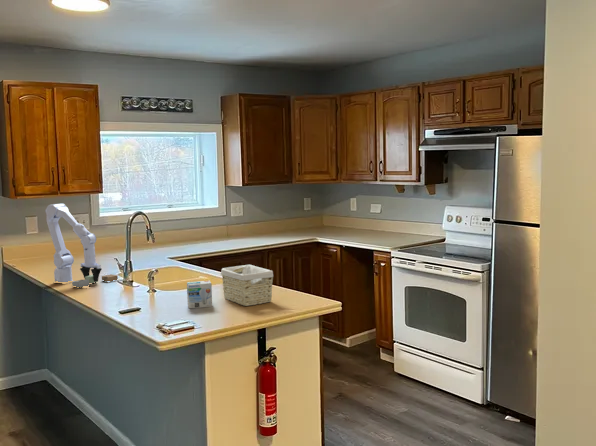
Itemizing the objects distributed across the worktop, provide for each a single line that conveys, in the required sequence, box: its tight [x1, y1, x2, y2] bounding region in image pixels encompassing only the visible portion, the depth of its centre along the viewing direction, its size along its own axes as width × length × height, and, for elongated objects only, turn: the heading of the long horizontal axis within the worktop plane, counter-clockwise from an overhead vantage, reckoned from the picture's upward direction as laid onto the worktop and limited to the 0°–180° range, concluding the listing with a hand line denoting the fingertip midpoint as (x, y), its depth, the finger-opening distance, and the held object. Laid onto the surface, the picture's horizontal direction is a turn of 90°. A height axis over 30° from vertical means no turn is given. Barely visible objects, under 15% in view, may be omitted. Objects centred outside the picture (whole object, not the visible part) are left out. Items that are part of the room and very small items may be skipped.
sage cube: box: [84, 274, 99, 283], centre depth 320 cm, size 4×4×4 cm
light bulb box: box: [186, 280, 213, 309], centre depth 262 cm, size 11×7×11 cm, turn 106°
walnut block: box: [101, 274, 119, 281], centre depth 325 cm, size 6×6×4 cm
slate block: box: [71, 279, 90, 287], centre depth 311 cm, size 6×6×4 cm
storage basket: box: [220, 264, 274, 307], centre depth 270 cm, size 24×16×15 cm
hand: (91, 280), depth 320 cm, fingers open, 7 cm apart
